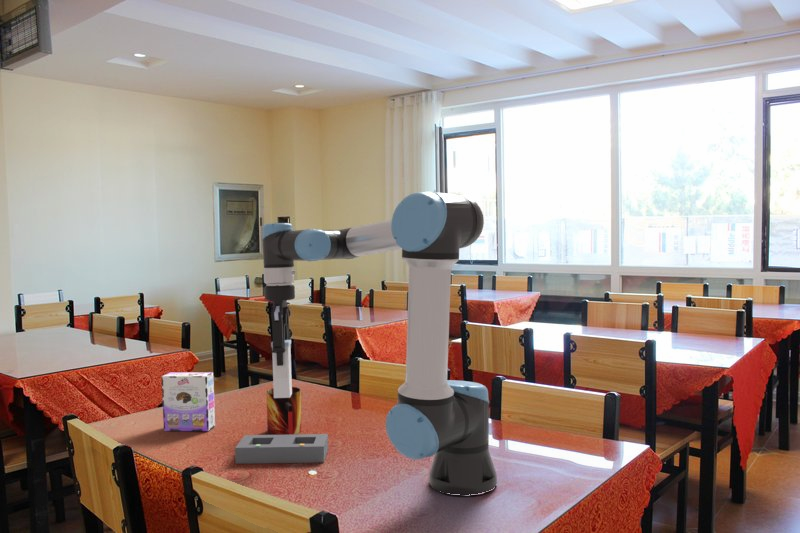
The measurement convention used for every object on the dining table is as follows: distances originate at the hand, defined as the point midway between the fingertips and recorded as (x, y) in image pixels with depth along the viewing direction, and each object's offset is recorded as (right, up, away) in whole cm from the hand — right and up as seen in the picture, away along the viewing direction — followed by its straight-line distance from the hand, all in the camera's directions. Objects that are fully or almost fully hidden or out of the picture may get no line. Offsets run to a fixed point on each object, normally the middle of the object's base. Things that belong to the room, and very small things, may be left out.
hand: (282, 375), depth 162 cm
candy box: (-32, -20, +26) cm, 46 cm away
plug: (0, -5, 0) cm, 5 cm away
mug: (-2, -20, +21) cm, 29 cm away
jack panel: (0, -21, +1) cm, 21 cm away
